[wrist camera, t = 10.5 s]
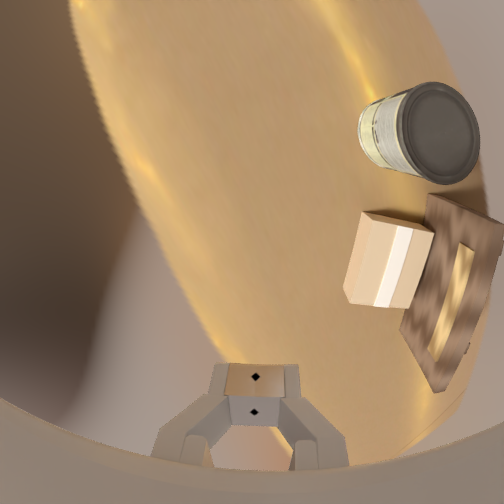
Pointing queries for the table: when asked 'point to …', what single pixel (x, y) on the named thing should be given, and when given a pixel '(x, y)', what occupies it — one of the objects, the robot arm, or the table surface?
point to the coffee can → (422, 133)
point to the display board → (451, 287)
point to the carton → (386, 261)
